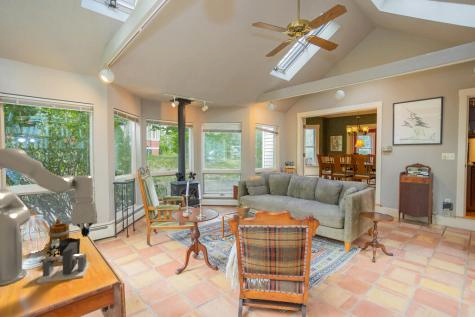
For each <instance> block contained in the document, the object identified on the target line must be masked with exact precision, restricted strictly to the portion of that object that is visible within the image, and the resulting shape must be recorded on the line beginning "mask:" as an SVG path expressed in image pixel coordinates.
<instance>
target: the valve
mask: <svg viewBox="0 0 475 317" xmlns="http://www.w3.org/2000/svg"><path fill="white" fill-rule="evenodd" d="M48 250H49V251H48ZM48 250H47V251H46V254H48V257H56V256H60V249H59V239H53V240H52V244H51V247H50V248H49V247H48Z"/></svg>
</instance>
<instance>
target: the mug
mask: <svg viewBox="0 0 475 317" xmlns="http://www.w3.org/2000/svg"><path fill="white" fill-rule="evenodd" d="M70 231H71V230H70V223H66V222H63V223H61V221H60V218H56V220H55V224H52V225H50V226H49V232H48V236H49V241H48V249H49V248H50V247H51V244H52V240H53V239H59V242H60V241H61V240H63V239H66V238H70V233H71V232H70Z"/></svg>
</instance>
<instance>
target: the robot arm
mask: <svg viewBox="0 0 475 317" xmlns="http://www.w3.org/2000/svg"><path fill="white" fill-rule="evenodd" d="M2 169H7V170H9V171H12V172H14V173H17V174H19V175H20V176H24V177H26V178H28V179H29V180H30V181H31V182H33V183H34V184H36V185H37V186H39V187H40V188H43V189H45V190H48V191H50V192H52V193H55V194H65V193H67V192H69V191H72V190H74V195H75V196H74V197H73V198H71V202H74V203H73V204H72V209H71V210H72V211H71V223H72V224H71V225H72V227H73V226H74V227H78V228H79V229H80V230H81V235H82V238H86V237H88V235H90V227H91V226H92V225H96V224H98V213H97V206H96V201H94V180H93V179H94V178H93V176H92V175H83V174H82V175H72V174H70V175H69V174H66V175H62V176H60V175H58V174H55V173H52V172H50V171H48V170H47V169H46V168H45V167H44V165H43V163H42V161H40V160H37V159H35V158H33V157H30V156H28V154H27V152H26V151H25V150H24V149H21V148H18V147H8V148H7V147H5V148H4V147H3V148H0V170H2ZM30 219H31V212H30V209H29V208H28V207H27V206H26V205H25V203H24V202H23V201H22V200H21V199H20V197H19V196H18V195H17V194H16V193H15V192H13V191H12V190H9V189H6V188H0V286H5V285H9V284H13V283H15V282H18V281H20V280H21V279H24V278H25V277H26V276H27V274H28V272H27V271H28V270H26V269H23V240H22V239H23V238H22V234H21V231H20V228H21V227H22V226H23V225H25V224H26V223H28V222H29V221H30Z"/></svg>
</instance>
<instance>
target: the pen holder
mask: <svg viewBox="0 0 475 317" xmlns="http://www.w3.org/2000/svg"><path fill="white" fill-rule="evenodd" d="M72 242H77V254H80V249H81V248H80V247H81V238H74V237H69V238H66V239H63V240H61V241H60V242H59V249H60V252H59V253H60V255H59V256H63V251H64V250H65V249H66V247H67V246H68V245H69V244H70V243H72Z"/></svg>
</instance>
